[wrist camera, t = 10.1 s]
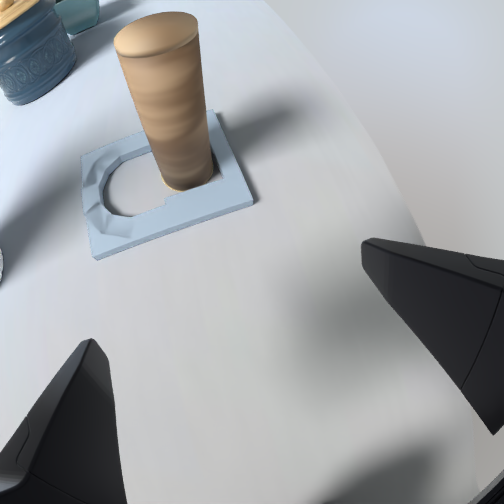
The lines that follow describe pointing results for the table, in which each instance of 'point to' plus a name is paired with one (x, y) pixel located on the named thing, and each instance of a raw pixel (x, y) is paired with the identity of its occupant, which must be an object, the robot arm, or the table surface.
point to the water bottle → (1, 264)
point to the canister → (32, 49)
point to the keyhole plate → (177, 206)
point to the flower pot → (77, 14)
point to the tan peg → (169, 94)
